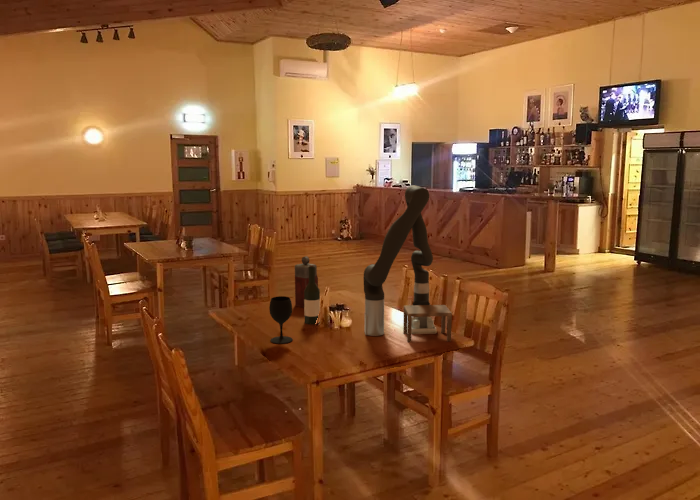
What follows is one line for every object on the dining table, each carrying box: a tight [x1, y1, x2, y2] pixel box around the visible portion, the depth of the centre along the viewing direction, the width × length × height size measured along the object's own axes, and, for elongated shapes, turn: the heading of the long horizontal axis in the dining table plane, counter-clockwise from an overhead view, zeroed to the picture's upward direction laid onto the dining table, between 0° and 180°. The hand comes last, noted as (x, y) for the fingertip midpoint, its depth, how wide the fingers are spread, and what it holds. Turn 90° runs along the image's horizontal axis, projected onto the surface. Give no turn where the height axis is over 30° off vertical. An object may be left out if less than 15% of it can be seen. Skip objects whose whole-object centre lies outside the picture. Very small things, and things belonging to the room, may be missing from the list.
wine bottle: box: [303, 263, 321, 325], centre depth 295 cm, size 8×8×30 cm
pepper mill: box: [294, 256, 319, 308], centre depth 329 cm, size 9×11×28 cm
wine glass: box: [269, 295, 294, 345], centre depth 267 cm, size 10×10×20 cm
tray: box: [411, 316, 437, 335], centre depth 283 cm, size 12×10×7 cm
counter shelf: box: [402, 304, 453, 343], centre depth 273 cm, size 20×14×14 cm
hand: (420, 324), depth 289 cm, fingers closed
